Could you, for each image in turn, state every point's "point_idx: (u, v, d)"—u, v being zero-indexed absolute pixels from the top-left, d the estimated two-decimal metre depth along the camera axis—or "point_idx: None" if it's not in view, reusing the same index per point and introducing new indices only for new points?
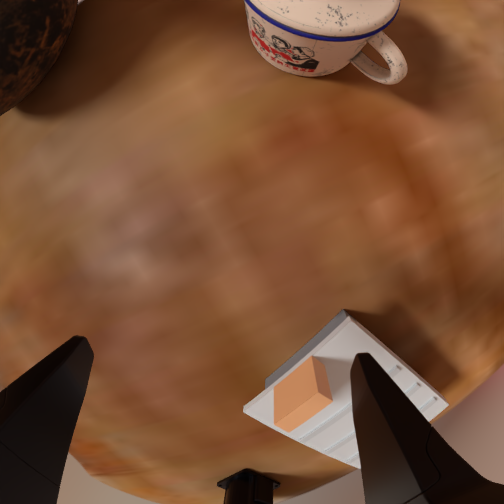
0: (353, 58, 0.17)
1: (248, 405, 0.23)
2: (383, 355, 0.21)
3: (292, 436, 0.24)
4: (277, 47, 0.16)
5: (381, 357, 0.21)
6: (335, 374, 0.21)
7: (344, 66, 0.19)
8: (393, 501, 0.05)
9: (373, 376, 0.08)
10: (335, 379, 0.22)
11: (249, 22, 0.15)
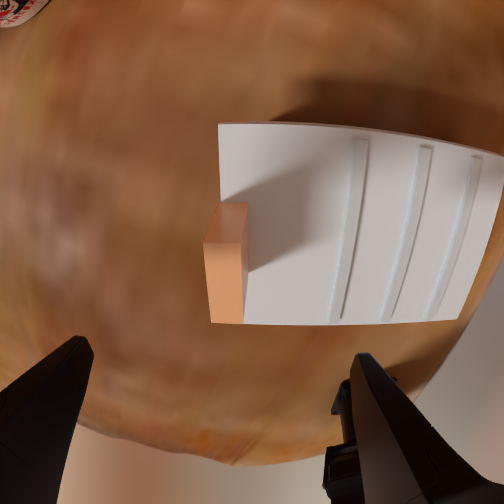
0: None
1: None
2: (317, 135, 0.13)
3: (316, 322, 0.18)
4: None
5: (316, 140, 0.13)
6: (276, 205, 0.15)
7: None
8: (393, 501, 0.05)
9: (373, 376, 0.08)
10: (283, 212, 0.15)
11: None
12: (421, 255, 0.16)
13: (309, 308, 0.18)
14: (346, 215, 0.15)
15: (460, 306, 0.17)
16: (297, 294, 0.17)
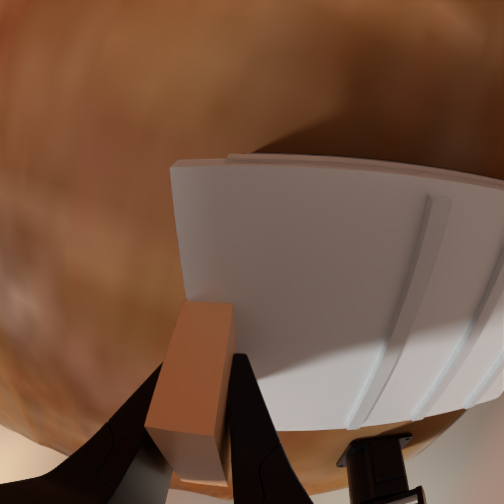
0: None
1: None
2: (365, 189, 0.07)
3: (331, 427, 0.12)
4: None
5: (362, 198, 0.07)
6: (282, 307, 0.08)
7: None
8: None
9: (237, 378, 0.08)
10: (293, 317, 0.09)
11: None
12: (480, 349, 0.09)
13: (323, 416, 0.12)
14: (395, 318, 0.08)
15: None
16: (308, 405, 0.11)
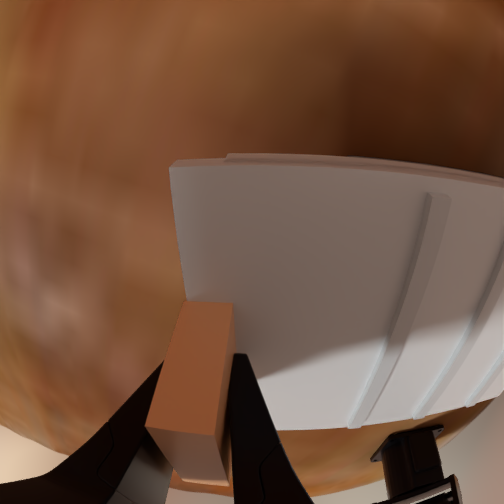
0: None
1: None
2: (364, 187, 0.07)
3: (332, 426, 0.12)
4: None
5: (361, 196, 0.07)
6: (282, 306, 0.08)
7: None
8: None
9: (237, 378, 0.08)
10: (294, 316, 0.09)
11: None
12: (481, 347, 0.09)
13: (324, 415, 0.12)
14: (396, 316, 0.08)
15: None
16: (309, 404, 0.11)
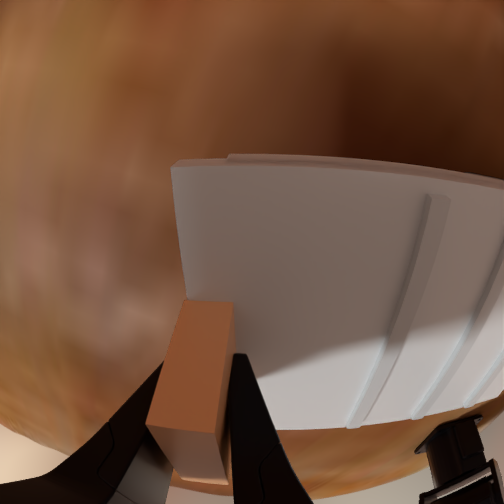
0: None
1: None
2: (364, 188, 0.07)
3: (331, 425, 0.12)
4: None
5: (361, 197, 0.07)
6: (283, 306, 0.09)
7: None
8: None
9: (237, 378, 0.08)
10: (293, 315, 0.09)
11: None
12: (480, 347, 0.09)
13: (323, 415, 0.12)
14: (395, 316, 0.08)
15: None
16: (308, 404, 0.11)
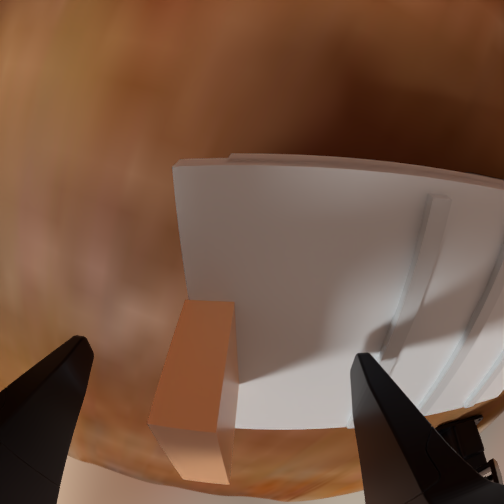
0: None
1: None
2: (365, 188, 0.07)
3: (331, 425, 0.12)
4: None
5: (362, 197, 0.07)
6: (284, 305, 0.09)
7: None
8: (393, 501, 0.05)
9: (373, 376, 0.08)
10: (294, 315, 0.09)
11: None
12: (480, 347, 0.09)
13: (323, 415, 0.12)
14: (395, 316, 0.08)
15: None
16: (308, 404, 0.11)
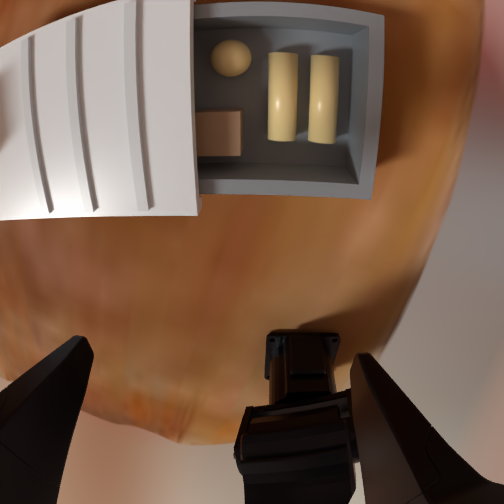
0: None
1: None
2: (6, 50, 0.10)
3: (38, 214, 0.16)
4: None
5: (5, 54, 0.10)
6: None
7: None
8: (393, 501, 0.05)
9: (373, 376, 0.08)
10: None
11: None
12: (97, 124, 0.13)
13: (28, 199, 0.15)
14: (24, 101, 0.12)
15: (191, 193, 0.15)
16: (16, 184, 0.15)
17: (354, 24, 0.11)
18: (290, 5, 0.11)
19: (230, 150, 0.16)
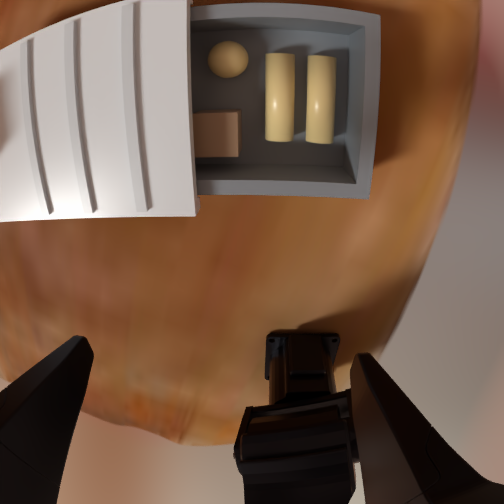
0: None
1: None
2: (5, 53, 0.10)
3: (38, 216, 0.16)
4: None
5: (4, 57, 0.10)
6: None
7: None
8: (393, 501, 0.05)
9: (373, 376, 0.08)
10: None
11: None
12: (96, 125, 0.13)
13: (28, 200, 0.15)
14: (24, 104, 0.12)
15: (189, 194, 0.15)
16: (16, 186, 0.15)
17: (350, 24, 0.11)
18: (286, 6, 0.11)
19: (228, 151, 0.16)
